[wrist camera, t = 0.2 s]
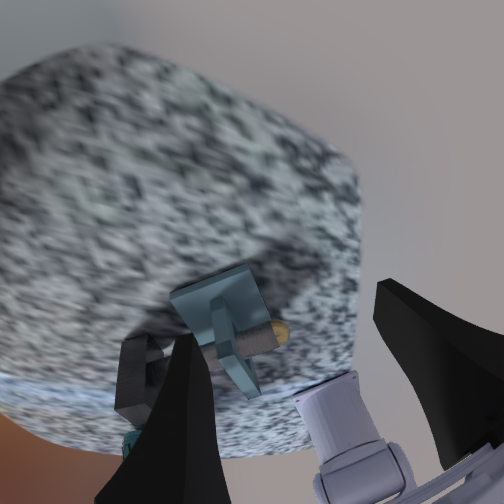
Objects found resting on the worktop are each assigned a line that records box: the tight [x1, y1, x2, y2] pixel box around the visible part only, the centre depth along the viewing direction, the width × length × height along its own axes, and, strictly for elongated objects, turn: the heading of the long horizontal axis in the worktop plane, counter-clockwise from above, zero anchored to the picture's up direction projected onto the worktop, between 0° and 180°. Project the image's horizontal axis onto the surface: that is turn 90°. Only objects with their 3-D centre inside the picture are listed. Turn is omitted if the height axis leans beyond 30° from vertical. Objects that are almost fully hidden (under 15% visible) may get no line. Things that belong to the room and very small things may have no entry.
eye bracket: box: [170, 263, 271, 400], centre depth 21 cm, size 6×8×6 cm
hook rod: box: [114, 319, 290, 426], centre depth 21 cm, size 13×3×7 cm, turn 109°
